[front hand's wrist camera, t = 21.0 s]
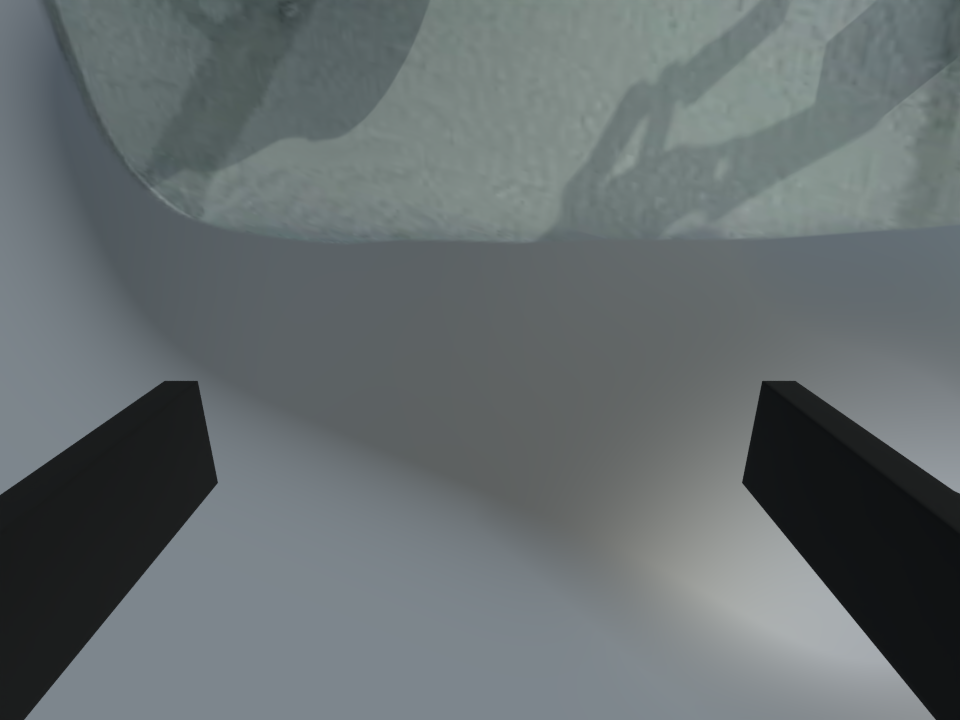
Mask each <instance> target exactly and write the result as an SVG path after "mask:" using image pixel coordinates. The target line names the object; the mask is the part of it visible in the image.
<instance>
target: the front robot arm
mask: <svg viewBox="0 0 960 720" xmlns="http://www.w3.org/2000/svg"><path fill="white" fill-rule="evenodd" d="M217 483H218V481H217V476H216V471H215V466H214V461H213V456H212V451H211V446H210V441H209V436H208V431H207V426H206V421H205V416H204V411H203V406H202V401H201V395H200V390H199V386H198V381H164V382H163V383H161V384H160V385H158V386H157V387H155V388H154V389H152V390H151V391H150V392H148V393H147V394H145V395H144V396H142V397H141V398H139V399H138V400H137V401H135V402H134V403H132V404H131V405H129V406H128V407H127V408H125V409H124V410H122V411H121V412H119V413H118V414H116V415H115V416H114V417H112V418H111V419H109V420H108V421H106V422H105V423H103V424H102V425H101V426H99V427H98V428H96V429H95V430H93V431H92V432H90V433H89V434H88V435H86V436H85V437H83V438H82V439H80V440H79V441H78V442H76V443H75V444H73V445H72V446H70V447H69V448H67V449H66V450H65V451H63V452H62V453H60V454H59V455H57V456H56V457H54V458H53V459H52V460H50V461H49V462H47V463H46V464H44V465H43V466H42V467H40V468H39V469H37V470H36V471H34V472H33V473H31V474H30V475H29V476H27V477H26V478H24V479H23V480H21V481H20V482H18V483H17V484H16V485H14V486H13V487H11V488H10V489H8V490H7V491H5V492H4V493H3V494H1V495H0V720H24V719H25V718H26V717H27V715H28V714H29V713H30V712H31V711H32V709H33V708H34V707H35V706H36V704H37V703H38V702H39V701H40V700H41V698H42V697H43V696H44V695H45V694H46V692H47V691H48V690H49V689H50V687H51V686H52V685H53V684H54V683H55V681H56V680H57V679H58V678H59V676H60V675H61V674H62V673H63V671H64V670H65V669H66V668H67V667H68V665H69V664H70V663H71V662H72V661H73V659H74V658H75V657H76V656H77V654H78V653H79V652H80V651H81V650H82V648H83V647H84V646H85V645H86V643H87V642H88V641H89V640H90V639H91V637H92V636H93V635H94V634H95V632H96V631H97V630H98V629H99V627H100V626H101V625H102V624H103V623H104V621H105V620H106V619H107V618H108V616H109V615H110V614H111V613H112V612H113V610H114V609H115V608H116V607H117V605H118V604H119V603H120V602H121V601H122V599H123V598H124V597H125V596H126V594H127V593H128V592H129V591H130V590H131V588H132V587H133V586H134V585H135V583H136V582H137V581H138V580H139V579H140V577H141V576H142V575H143V574H144V572H145V571H146V570H147V569H148V568H149V566H150V565H151V564H152V563H153V561H154V560H155V559H156V558H157V557H158V555H159V554H160V553H161V552H162V550H163V549H164V548H165V547H166V546H167V544H168V543H169V542H170V541H171V539H172V538H173V537H174V536H175V535H176V533H177V532H178V531H179V530H180V528H181V527H182V526H183V525H184V524H185V522H186V521H187V520H188V519H189V517H190V516H191V515H192V514H193V513H194V511H195V510H196V509H197V508H198V506H199V505H200V504H201V503H202V502H203V500H204V499H205V498H206V497H207V495H208V494H209V493H210V492H211V491H212V489H213V488H214V487H215V486H216V484H217ZM742 483H743V484H744V486H745V487H746V488H747V489H748V491H749V492H750V493H751V494H752V495H753V497H754V498H755V499H756V500H757V502H758V503H759V504H760V505H761V506H762V508H763V509H764V510H765V511H766V513H767V514H768V515H769V516H770V517H771V519H772V520H773V521H774V522H775V524H776V525H777V526H778V527H779V528H780V530H781V531H782V532H783V533H784V535H785V536H786V537H787V538H788V539H789V541H790V542H791V543H792V544H793V546H794V547H795V548H796V549H797V550H798V552H799V553H800V554H801V555H802V557H803V558H804V559H805V560H806V561H807V563H808V564H809V565H810V566H811V568H812V569H813V570H814V571H815V572H816V574H817V575H818V576H819V577H820V579H821V580H822V581H823V582H824V583H825V585H826V586H827V587H828V588H829V590H830V591H831V592H832V593H833V594H834V596H835V597H836V598H837V599H838V601H839V602H840V603H841V604H842V605H843V607H844V608H845V609H846V610H847V612H848V613H849V614H850V615H851V617H852V618H853V619H854V620H855V621H856V623H857V624H858V625H859V626H860V628H861V629H862V630H863V631H864V632H865V633H866V635H867V636H868V637H869V638H870V640H871V641H872V642H873V643H874V645H875V646H876V647H877V648H878V649H879V651H880V652H881V653H882V654H883V656H884V657H885V658H886V659H887V660H888V662H889V663H890V664H891V665H892V667H893V668H894V669H895V670H896V672H897V673H898V674H899V675H900V676H901V678H902V679H903V680H904V681H905V683H906V684H907V685H908V686H909V687H910V689H911V690H912V691H913V692H914V694H915V695H916V696H917V697H918V698H919V700H920V701H921V702H922V703H923V705H924V706H925V707H926V708H927V709H928V711H929V712H930V713H931V714H932V716H933V717H934V718H935V719H936V720H960V494H959V493H957V492H955V491H953V490H952V489H950V488H949V487H947V486H946V485H944V484H943V483H942V482H940V481H939V480H937V479H936V478H934V477H933V476H931V475H930V474H929V473H927V472H926V471H924V470H923V469H921V468H920V467H919V466H917V465H916V464H914V463H913V462H911V461H910V460H908V459H907V458H906V457H904V456H903V455H901V454H900V453H898V452H897V451H895V450H894V449H893V448H891V447H890V446H888V445H887V444H885V443H884V442H882V441H881V440H880V439H878V438H877V437H875V436H874V435H872V434H871V433H869V432H868V431H867V430H865V429H864V428H862V427H861V426H859V425H858V424H857V423H855V422H854V421H852V420H851V419H849V418H848V417H846V416H845V415H844V414H842V413H841V412H839V411H838V410H836V409H835V408H833V407H832V406H831V405H829V404H828V403H826V402H825V401H823V400H822V399H820V398H819V397H818V396H816V395H815V394H813V393H812V392H810V391H809V390H807V389H806V388H805V387H803V386H802V385H800V384H799V383H797V382H796V381H762V386H761V390H760V395H759V401H758V406H757V411H756V416H755V421H754V426H753V431H752V436H751V441H750V446H749V451H748V456H747V461H746V466H745V471H744V476H743V481H742Z"/></svg>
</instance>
